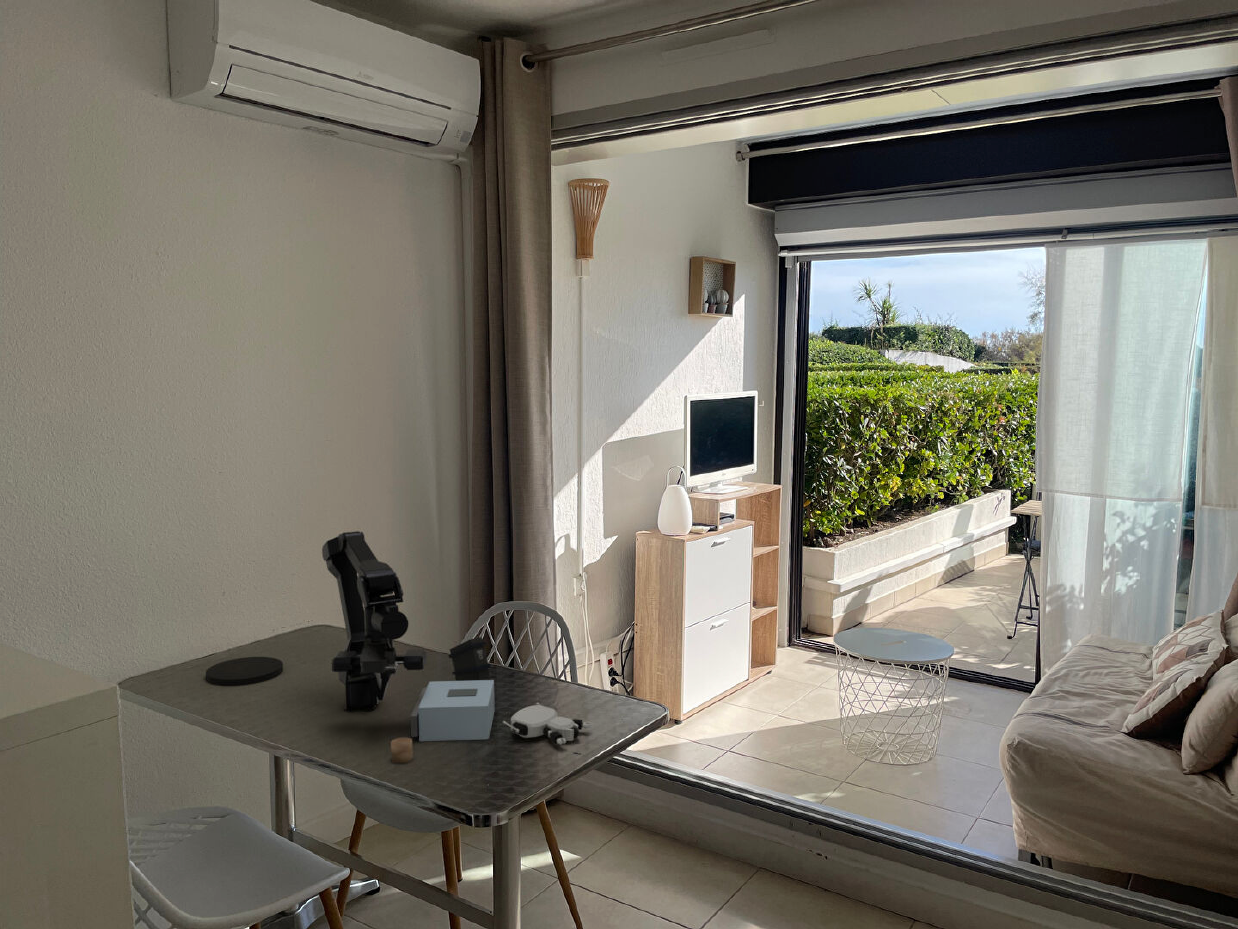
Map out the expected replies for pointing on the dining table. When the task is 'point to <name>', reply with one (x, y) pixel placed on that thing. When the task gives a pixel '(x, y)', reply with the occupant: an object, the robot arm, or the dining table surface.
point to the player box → (456, 710)
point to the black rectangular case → (470, 661)
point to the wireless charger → (244, 671)
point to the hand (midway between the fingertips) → (381, 700)
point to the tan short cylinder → (401, 750)
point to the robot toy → (545, 724)
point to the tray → (416, 716)
